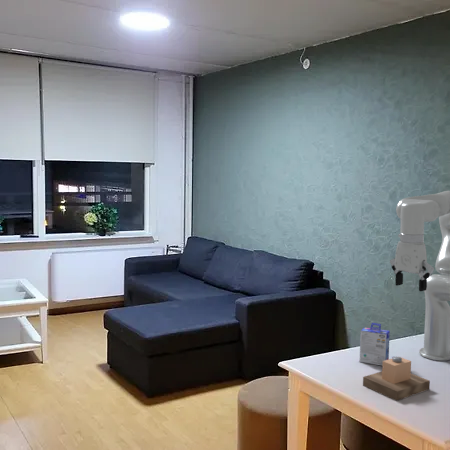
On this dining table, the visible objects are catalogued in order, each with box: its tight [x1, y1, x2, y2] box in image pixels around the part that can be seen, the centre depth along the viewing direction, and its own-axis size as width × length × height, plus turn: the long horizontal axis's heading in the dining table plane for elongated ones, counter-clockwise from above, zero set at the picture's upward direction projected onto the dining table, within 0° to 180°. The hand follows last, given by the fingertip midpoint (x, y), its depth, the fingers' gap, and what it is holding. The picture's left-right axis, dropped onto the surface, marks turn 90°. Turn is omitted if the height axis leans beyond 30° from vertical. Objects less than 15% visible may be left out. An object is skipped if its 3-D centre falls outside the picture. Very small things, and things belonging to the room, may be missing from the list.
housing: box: [381, 356, 412, 384], centre depth 180 cm, size 5×8×7 cm, turn 122°
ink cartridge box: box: [358, 322, 391, 366], centre depth 203 cm, size 10×6×14 cm, turn 62°
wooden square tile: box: [362, 370, 431, 401], centre depth 180 cm, size 16×14×3 cm
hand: (410, 287), depth 187 cm, fingers open, 9 cm apart
